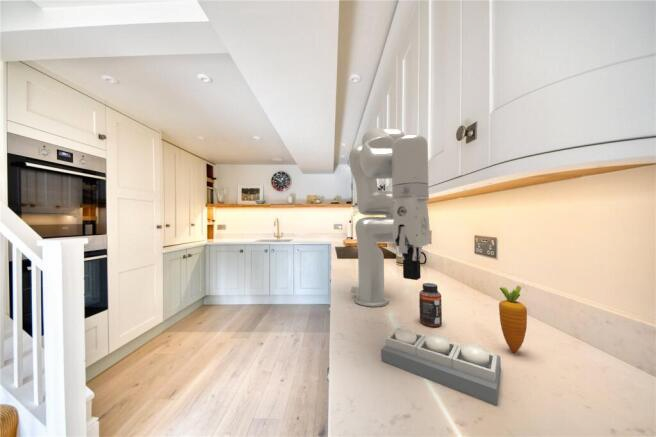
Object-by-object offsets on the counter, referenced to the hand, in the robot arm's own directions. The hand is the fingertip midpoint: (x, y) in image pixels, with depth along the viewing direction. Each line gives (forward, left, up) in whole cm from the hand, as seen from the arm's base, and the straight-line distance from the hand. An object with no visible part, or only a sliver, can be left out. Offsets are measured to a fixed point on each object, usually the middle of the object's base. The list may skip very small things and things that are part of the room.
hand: (411, 278), depth 51 cm
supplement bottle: (-2, +21, -18) cm, 27 cm away
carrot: (+17, +16, -18) cm, 29 cm away
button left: (-2, 0, -14) cm, 15 cm away
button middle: (+5, 0, -14) cm, 14 cm away
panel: (+5, +1, -17) cm, 18 cm away
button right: (+11, 0, -14) cm, 18 cm away
